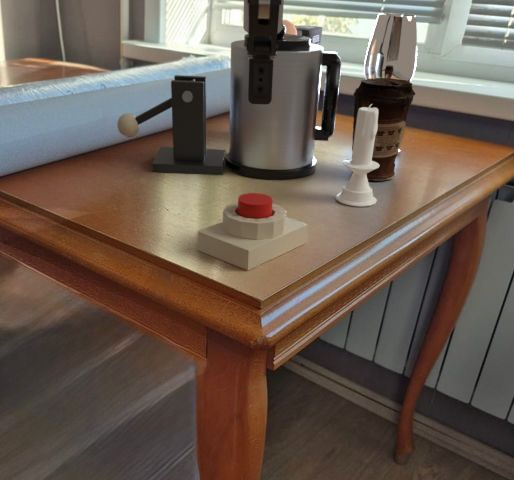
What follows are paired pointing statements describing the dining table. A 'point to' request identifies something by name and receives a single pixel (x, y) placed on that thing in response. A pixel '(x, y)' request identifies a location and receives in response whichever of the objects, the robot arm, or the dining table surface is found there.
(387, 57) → the wineglass
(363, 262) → the dining table surface
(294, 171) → the kettle
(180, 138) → the switch bracket
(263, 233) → the power block
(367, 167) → the candle
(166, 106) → the lever switch
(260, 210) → the power button
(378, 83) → the coffee cup
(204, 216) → the dining table surface
